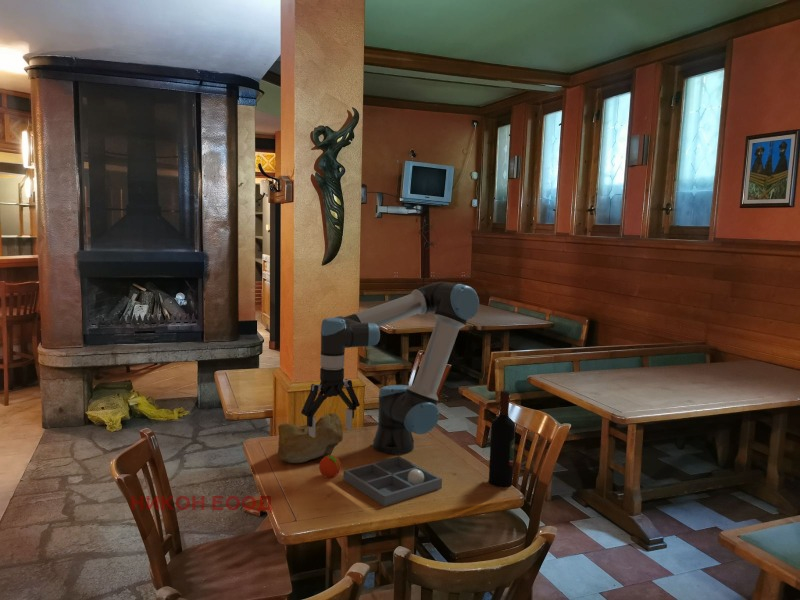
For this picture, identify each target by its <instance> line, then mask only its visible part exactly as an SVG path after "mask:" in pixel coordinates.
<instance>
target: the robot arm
mask: <svg viewBox="0 0 800 600" xmlns="http://www.w3.org/2000/svg"><path fill="white" fill-rule="evenodd" d="M479 309H480V298H479V296H478V293H477V292H476V290H475V289H474V288H473V287H471V286H469V285H466V284H463V283H453V282H448V281H438V282H433V283H431V284H427V285H424V286H421V287H418V288H416V289H414V290H412V291H411V293H409V294H407V295H404V296H402V297H401V296H400V297H398V298H396V299H392V300H389V301H386V302H384V303H381V304H378V305H376V306H373V307H370V308H367V309H364V310H361V311H359V312H355V313H352V314H349V315H346V316H342V315H341V316H334V317H327V318H324V319H322V321H321V326H320V364H319V365H320V370H319V380H320V383H319V384H314V383H312V384H311V385H310V391H309V394H308V396H307V398H306V400H305V403H304V405H303V407H302V409H301V415H303V416H305V417H306V425H307V426H309V435H310V436H311V437H315V425H316V423H317V421H316V419H317V417H316V416H315V414H316V413H317V411H318V410H319V409H320V407H321V405H322V404H323V402H325V400H327V398H332V397H338V396H339V397H340V399H341V400H342V402H344V404H345V405H346V406H347V407H346V408H345V426H344V427H345V429H348V430H349V431H351V430H353V419H354V417H355V411H356V410H357V408H358V407H360V406H361V405H360V401H359V399H358V396H357V394H356V392H355V390H354V387H353V381H352V380H351V379H348V378H345V368H344V367H345V353H346V351H345V350H346V349H349V348H361V347H366V348H367V347H373V346H376V345H378V343H379V342H380V339H381V331H380V328H381V327H384V326H388V325H390V324H392V323H395V322H398V321H401V320H403V319H407V318H409V317H412V316H415V315H416V314H417V315H418V314H419V315H420V316H421V315H425V314H429V313H434V319H435V321H436V322H435V323H434V324H435V325H434V326H433V329H432V332H431V335H430V338H429V341H428V344H427V346H426V349H425V351H424V354H423V356H422V359H421V362H420V364H419V368H418V370H417V372H416V373H417V374H416V376H415V378H414V381H413V384H412V385H410V386H409V385H405V384H390V385H385V386H382V387H381V388H380V389H379V392H378V419H377V420H378V425H377V429H376V432H375V435H374V438H373V440H372V449H374V450H375V451H376V452H379V453H382V454H385V455H386V454H387V455H404V454H407V453H410V452H411V451H412V452H413V450H414V449H415V448H414V447H415V441H414V437H413V433H414V434H416V435H425V434H427V433H428V432H431V431H432V430H433V429H435V427H436V426H437V424H438V422H439V419H440V412H439V408H438V407H437V405H438V402H439V397H438V396H437V392H438V390H439V387H440V384H441V380H442V378H443V376H444V372H445V369H446V367H447V364H448V362H449V359H450V357H451V354H452V351H453V347H454V345H455V342H456V339H457V337H458V334H459V331H460V330H461V329H462V328H464V327H466V325H467V322H468V320H470V319H472V318H473V317H475V316H476V315H477V313H478V311H479ZM344 378H345V379H344ZM343 388H345V389H346V392H347V394H348V396H347V395H346V393H345V391H344V390H343ZM318 392H319V393H318ZM349 398H350V399H349Z"/></svg>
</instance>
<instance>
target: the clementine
mask: <svg viewBox="0 0 800 600" xmlns="http://www.w3.org/2000/svg"><path fill="white" fill-rule="evenodd" d="M341 465H342V464H341V462H340V459H339V458H338V457H336V456H335V455H332V454H331V455H328V456H326V457H323V458H322V459H321V460H320V461H319V466H318V468H319V472H320V473H321V475H322V476H323V477H324V478H334V477H335V476H338V474H339V473H340V472H341Z"/></svg>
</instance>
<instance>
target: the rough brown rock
mask: <svg viewBox="0 0 800 600" xmlns="http://www.w3.org/2000/svg"><path fill="white" fill-rule="evenodd" d="M277 429H278V447H277V448H278V449H277V458H278V459H279V461H283V462H286V463H288V464H302V463H305V462H308V461H310V460H311V461H312V460H314V459H318V458H319V457H323V458H324V457H326V456H328V455H332V453H333V451H334V449H335V447H336V446H337V445H339V443H340V442H342V441H343V438H344V433H343V432H344V431H343V430H344V429H343V424H342V420H341V419H340V417H339V415H338V414H337V413H334V412H331V413H327V414H325V415H323V416H321V417H320V418H319V419H318V420H317V421H316V425H315V437H311V436H310V435H309V426H307V424H306V425H301V426H298V425H294V424H293V423H281V424H279V425H278V428H277Z"/></svg>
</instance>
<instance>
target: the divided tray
mask: <svg viewBox="0 0 800 600" xmlns="http://www.w3.org/2000/svg"><path fill="white" fill-rule="evenodd" d="M413 469H418V470H420V471H422V472H423V474H424V482H423V483H421V484H417V485H412V484H410V483H409V482H408V474H409V472H410V471H411V470H413ZM342 473H343V476H342V477H343V478H342V481H344V482H346V483H348V484H349V485H350V486H353V487H354V488H355V490H356V489H357V490H358V491H359V492H361V493H363V494H364V495H365V496H367V497H369V498H371V499H372V500H373V501H375V502H376V503H378V504H379V505H381V506H383V507H387V506H390V505H394V504H397V503H399V502H403V501H407V500H409V499H412V498H416V497H418V496H421V495H424V494H428V493H431V492H433V491H437V490H440V489H442V488H443V478H442V477H440V476H438V475H436V474H434V473H433V472H430V471H428V470H427V469H425V468H423V467H420V466H418V465H416V464H415V463H413V462H411V461H409V460H407V459H405V458H403V457H401V456H400V455H398V456H394V457H390V458H387V459H383V460H379V461H376V462H372V463H368V464H364V465H360V466H356V467H353V468H349V469H345V470H343V472H342Z"/></svg>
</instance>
